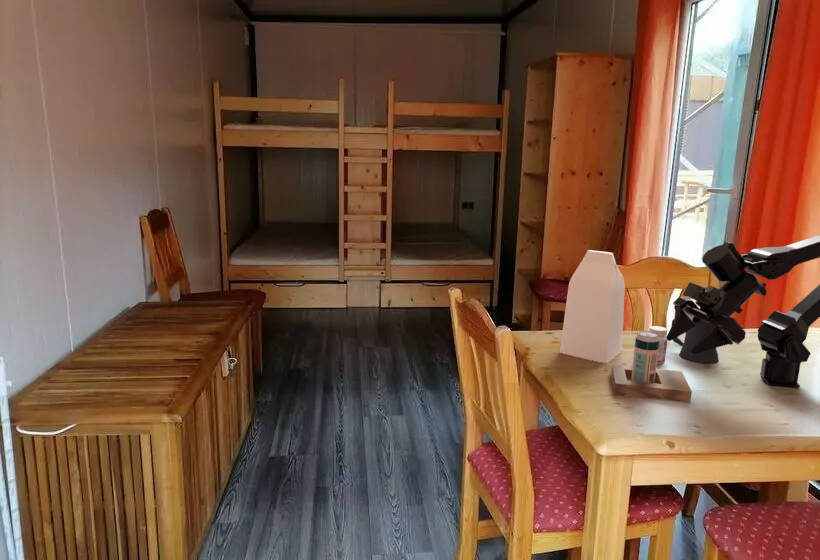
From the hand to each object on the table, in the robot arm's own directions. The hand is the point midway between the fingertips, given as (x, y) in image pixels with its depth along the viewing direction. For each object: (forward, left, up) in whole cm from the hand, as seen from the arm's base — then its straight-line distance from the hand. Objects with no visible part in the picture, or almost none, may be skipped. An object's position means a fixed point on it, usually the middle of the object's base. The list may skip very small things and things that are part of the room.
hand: (679, 346), depth 135 cm
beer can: (+7, +3, -9) cm, 12 cm away
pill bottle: (+2, -16, -9) cm, 19 cm away
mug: (-8, -23, -9) cm, 26 cm away
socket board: (+6, +3, -9) cm, 11 cm away
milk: (+17, -18, -9) cm, 27 cm away
